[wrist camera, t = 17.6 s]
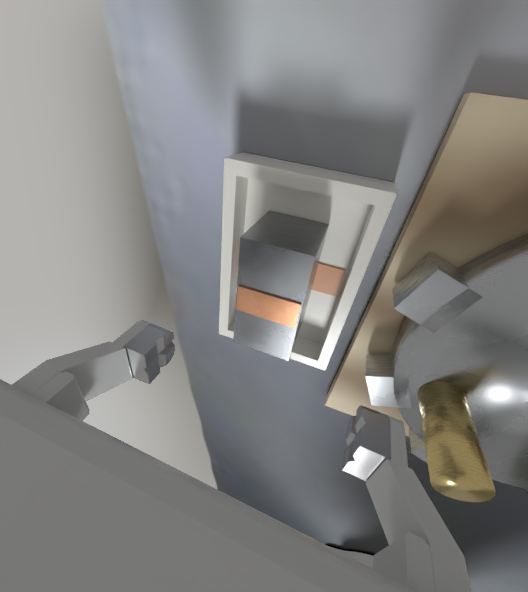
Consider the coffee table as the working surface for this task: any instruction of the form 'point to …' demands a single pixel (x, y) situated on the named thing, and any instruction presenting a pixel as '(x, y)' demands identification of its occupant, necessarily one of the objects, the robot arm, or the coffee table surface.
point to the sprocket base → (447, 224)
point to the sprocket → (462, 370)
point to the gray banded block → (276, 281)
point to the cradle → (314, 206)
